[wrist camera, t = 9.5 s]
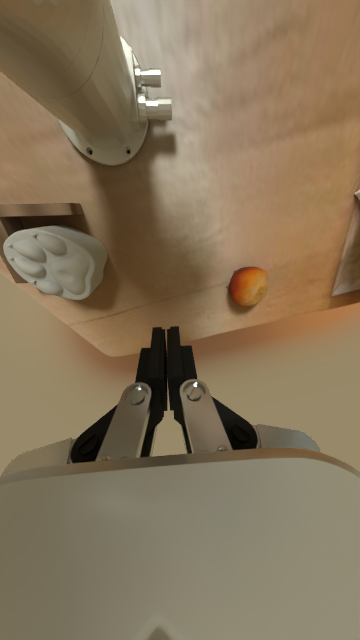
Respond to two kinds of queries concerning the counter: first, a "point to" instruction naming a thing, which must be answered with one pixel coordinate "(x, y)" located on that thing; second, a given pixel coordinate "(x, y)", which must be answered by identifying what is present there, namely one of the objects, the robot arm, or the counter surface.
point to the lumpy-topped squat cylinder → (57, 260)
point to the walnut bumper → (6, 222)
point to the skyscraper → (358, 194)
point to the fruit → (248, 286)
